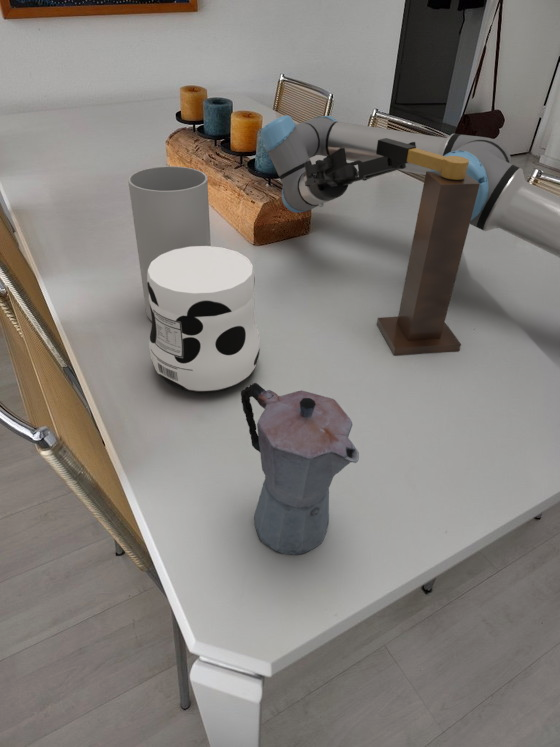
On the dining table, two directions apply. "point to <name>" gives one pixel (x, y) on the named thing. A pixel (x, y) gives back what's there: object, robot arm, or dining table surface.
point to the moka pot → (297, 464)
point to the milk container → (203, 318)
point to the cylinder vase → (168, 213)
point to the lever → (423, 158)
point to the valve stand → (432, 268)
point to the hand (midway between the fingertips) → (380, 153)
